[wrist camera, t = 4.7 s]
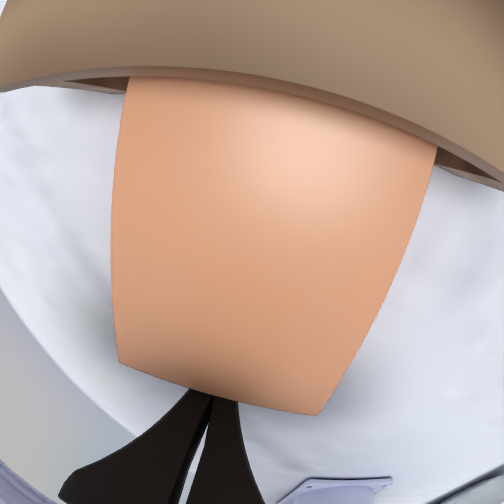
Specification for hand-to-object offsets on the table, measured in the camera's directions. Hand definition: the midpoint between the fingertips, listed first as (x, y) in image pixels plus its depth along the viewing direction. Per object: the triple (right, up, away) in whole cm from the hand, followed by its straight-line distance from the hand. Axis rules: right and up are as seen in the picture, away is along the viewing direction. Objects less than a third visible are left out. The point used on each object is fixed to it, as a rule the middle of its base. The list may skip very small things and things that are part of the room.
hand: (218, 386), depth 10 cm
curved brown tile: (+3, +14, -4) cm, 15 cm away
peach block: (+2, +6, -1) cm, 7 cm away
